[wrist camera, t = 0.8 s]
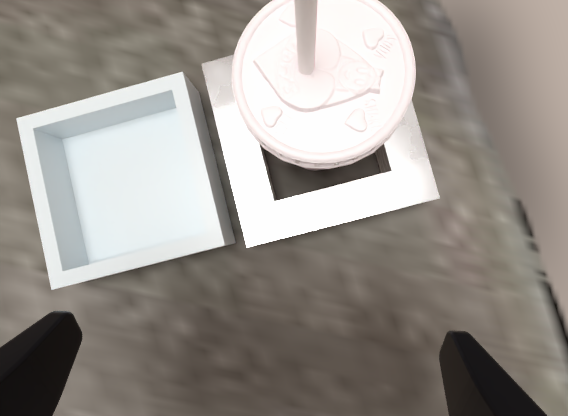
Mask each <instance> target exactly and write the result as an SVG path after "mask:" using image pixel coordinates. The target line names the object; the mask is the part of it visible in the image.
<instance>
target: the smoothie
mask: <svg viewBox="0 0 568 416" xmlns="http://www.w3.org/2000/svg"><path fill="white" fill-rule="evenodd" d="M415 74H416V68H415V58H414V53H413V49H412V46H411V42H410V40H409V38H408V35H407V33H406V31H405V29H404V28H403V26H402V25H401V23H400V22H399V20H398V19H397V18H396V16H395V15H394V14H393V13H392V12H391V11H390V10H389V9H388V8H387V7H386V6H385V5H383V4H382V3H381V2H380V1H378V0H272V1H271V2H270V3H268V4H267V5H266V6H264V7H263V8H262V9H261V10H260V11H259V12H258V13H257V14H256V15H255V16H254V17H253V19H252V20H251V21H250V22H249V24H248V25H247V27H246V28H245V30H244V32H243V33H242V35H241V37H240V40H239V42H238V44H237V47H236V50H235V54H234V58H233V64H232V87H233V93H234V97H235V101H236V104H237V106H238V109H239V113H240V115H241V117H242V119H243V121H244V123H245V125H246V127H247V129H248V131H249V132H250V134H251V135H252V136H253V137H254V138H255V139H256V140H257V141H258V142H259V143H260V145H261V146H262V147H263V148H264V149H266V150H267V151H269V152H270V153H272V154H273V155H275V156H276V157H278V158H280V159H281V160H283V161H285V162H288V163H291V164H295V165H298V166H300V167H302V168H304V169H307V170H313V171H317V170H324V169H331V168H335V167H340V166H345V165H349V164H353V163H355V162H357V161H359V160H361V159H363V158H364V157H366V156H368V155H370V154H372V153H374V152H375V151H376V150H377V149H378V148H379V147H380V146H381V145H383V144H384V143H385V142H386V141H387V140H388V139H389V138H390V137H391V136H392V134H393V133H394V131H395V130H396V128H397V126H398V125H399V123H400V122H401V120H402V119H403V116H404V114H405V113H406V111H407V108H408V106H409V104H410V101H411V98H412V95H413V90H414V85H415Z"/></svg>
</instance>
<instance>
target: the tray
mask: <svg viewBox="0 0 568 416" xmlns="http://www.w3.org/2000/svg"><path fill="white" fill-rule="evenodd" d="M16 119H17V124H18V129H19V133H20V138H21V143H22V148H23V153H24V158H25V163H26V168H27V172H28V177H29V182H30V187H31V192H32V197H33V202H34V206H35V211H36V216H37V221H38V226H39V231H40V236H41V241H42V245H43V250H44V255H45V260H46V265H47V270H48V275H49V279H50V284H51V289H52V290H53V289H57V288H61V287H65V286H69V285H74V284H78V283H82V282H86V281H90V280H94V279H98V278H102V277H106V276H110V275H114V274H117V273H121V272H125V271H129V270H133V269H137V268H141V267H145V266H149V265H153V264H156V263H160V262H164V261H168V260H172V259H176V258H180V257H184V256H188V255H191V254H195V253H199V252H203V251H207V250H211V249H215V248H219V247H223V246H227V245H230V244H234V243H236V241H235V237H234V233H233V229H232V225H231V221H230V217H229V213H228V208H227V204H226V200H225V196H224V192H223V188H222V184H221V180H220V176H219V172H218V168H217V163H216V159H215V155H214V151H213V147H212V143H211V139H210V135H209V131H208V127H207V123H206V119H205V114H204V110H203V106H202V102H201V98H200V94H199V92H198V90H197V89H196V88H195V87H194V85H193V84H192V83H191V82H190V80H189V79H188V78H187V76H186V75H185V74H184V73H183V72H180V73H176V74H173V75H169V76H166V77H162V78H159V79H155V80H151V81H148V82H144V83H141V84H137V85H134V86H130V87H127V88H123V89H119V90H116V91H112V92H109V93H105V94H102V95H98V96H95V97H91V98H87V99H84V100H80V101H77V102H73V103H70V104H66V105H63V106H59V107H55V108H52V109H48V110H45V111H41V112H38V113H34V114H31V115H27V116H23V117H20V118H16Z"/></svg>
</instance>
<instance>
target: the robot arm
mask: <svg viewBox="0 0 568 416" xmlns="http://www.w3.org/2000/svg"><path fill="white" fill-rule="evenodd" d="M81 341H82V331H81V329H80V327H79V325H78V323H77V321H76V319H75V317H74V315H73V314H72V313H71V312H68V311H53V312H51V313H49V314H48V315H46V316H45V317H43V318H42V319H40V320H39V321H38V322H36V323H35V324H33V325H32V326H30V327H29V328H27V329H26V330H25V331H23V332H22V333H20V334H19V335H17V336H16V337H15V338H13V339H12V340H10V341H9V342H7V343H6V344H4V345H3V346H2V347H0V416H52V415H53V413H54V411H55V409H56V407H57V405H58V402H59V400H60V397H61V395H62V392H63V390H64V387H65V384H66V382H67V379H68V376H69V374H70V371H71V368H72V366H73V363H74V360H75V358H76V355H77V352H78V350H79V347H80V345H81ZM439 361H440V367H441V372H442V378H443V384H444V389H445V395H446V400H447V406H448V412H449V416H547V415H546V414H545V413H544V411H543V410H542V409H541V408H540V407H539V406H538V405H537V404H536V403H535V402H534V401H533V400H532V399H531V398H530V397H529V396H528V395H527V394H526V393H525V391H524V390H523V389H522V388H521V387H520V386H519V385H518V384H517V383H516V382H515V381H514V380H513V379H512V378H511V377H510V376H509V375H508V374H507V372H506V371H505V370H504V369H503V368H502V367H501V366H500V365H499V364H498V363H497V362H496V361H495V360H494V359H493V358H492V357H491V356H490V355H489V354H488V352H487V351H486V350H485V349H484V348H483V347H482V346H481V345H480V344H479V343H478V342H477V341H476V340H475V339H474V338H473V337H472V336H471V335H470V334H469V333H468V332H465V331H449V332H447V334H446V336H445V339H444V342H443V344H442V347H441V350H440V354H439Z"/></svg>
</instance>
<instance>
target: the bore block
mask: <svg viewBox="0 0 568 416" xmlns="http://www.w3.org/2000/svg"><path fill="white" fill-rule="evenodd" d="M233 58H234V55H231V56H228V57H224V58H221V59H217V60H214V61H210V62H207V63H203V64H202V68H203V72H204V76H205V80H206V84H207V88H208V92H209V97H210V101H211V105H212V109H213V113H214V117H215V121H216V125H217V129H218V133H219V137H220V141H221V145H222V149H223V153H224V157H225V161H226V165H227V170H228V174H229V178H230V182H231V186H232V190H233V194H234V198H235V202H236V206H237V210H238V214H239V218H240V222H241V226H242V230H243V234H244V238H245V243H246V247H251V246H255V245H259V244H263V243H266V242H270V241H274V240H278V239H282V238H286V237H290V236H294V235H298V234H302V233H306V232H309V231H313V230H317V229H321V228H325V227H329V226H333V225H337V224H341V223H345V222H349V221H352V220H356V219H360V218H364V217H368V216H372V215H376V214H380V213H384V212H388V211H392V210H395V209H399V208H403V207H407V206H411V205H415V204H419V203H423V202H427V201H431V200H435V199H438V198H440V197H439V193H438V190H437V186H436V183H435V179H434V176H433V173H432V169H431V166H430V162H429V159H428V155H427V152H426V148H425V145H424V141H423V138H422V134H421V131H420V127H419V124H418V121H417V117H416V114H415V110H414V107H413V103H412V100H411V101H410V104H409V106H408V108H407V111H406V113H405V114H404V116H403V119H402V120H401V122H400V123H399V125H398V126H397V128H396V130H395V131H394V133H393V134H392V136H391V137H390V138H389V139H388V140H387V141H386V142H385V143H384V144H383V145H381V146H380V147H379V148H378V149H377V150H376V151H375V155H376V158H377V162H378V165H379V169H380V173H381V174H378V175H374V176H371V177H367V178H363V179H359V180H355V181H351V182H348V183H344V184H340V185H336V186H332V187H328V188H325V189H321V190H317V191H313V192H309V193H305V194H302V195H298V196H294V197H290V198H286V199H282V200H279V201H277V200H276V197H275V193H274V189H273V185H272V181H271V177H270V173H269V169H268V165H267V161H266V157H265V153H264V150H263V147H262V146H261V145H260V143H259V142H258V141H257V140H256V139H255V138H254V137H253V136H252V135H251V134H250V132H249V131H248V129H247V127H246V125H245V123H244V121H243V119H242V117H241V115H240V113H239V109H238V106H237V104H236V101H235V97H234V93H233V87H232V64H233Z"/></svg>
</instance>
